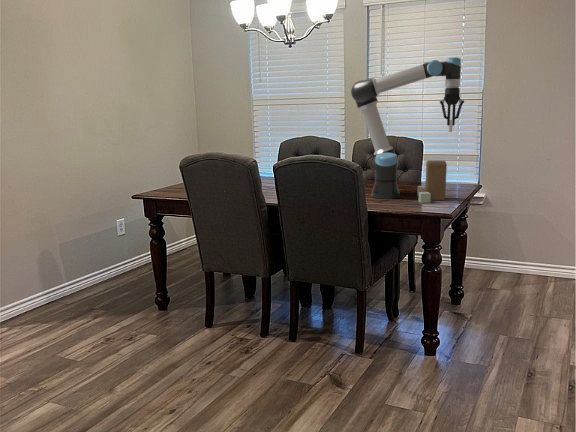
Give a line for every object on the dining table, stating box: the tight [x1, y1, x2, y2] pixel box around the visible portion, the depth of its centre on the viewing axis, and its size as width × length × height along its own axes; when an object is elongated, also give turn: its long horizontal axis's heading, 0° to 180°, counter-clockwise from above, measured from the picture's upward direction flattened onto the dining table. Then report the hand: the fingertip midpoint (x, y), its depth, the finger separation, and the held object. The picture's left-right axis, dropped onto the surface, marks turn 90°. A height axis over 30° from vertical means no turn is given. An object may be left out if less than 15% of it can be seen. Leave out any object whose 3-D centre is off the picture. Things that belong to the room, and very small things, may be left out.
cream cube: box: [416, 185, 425, 197], centre depth 313 cm, size 5×5×5 cm
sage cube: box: [418, 192, 431, 204], centre depth 294 cm, size 5×5×5 cm
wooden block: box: [424, 160, 448, 201], centre depth 301 cm, size 10×10×20 cm
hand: (450, 131), depth 310 cm, fingers closed
